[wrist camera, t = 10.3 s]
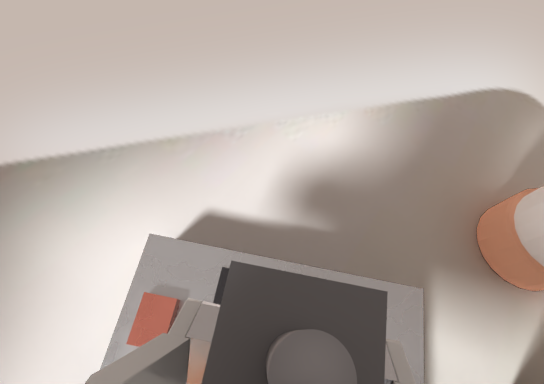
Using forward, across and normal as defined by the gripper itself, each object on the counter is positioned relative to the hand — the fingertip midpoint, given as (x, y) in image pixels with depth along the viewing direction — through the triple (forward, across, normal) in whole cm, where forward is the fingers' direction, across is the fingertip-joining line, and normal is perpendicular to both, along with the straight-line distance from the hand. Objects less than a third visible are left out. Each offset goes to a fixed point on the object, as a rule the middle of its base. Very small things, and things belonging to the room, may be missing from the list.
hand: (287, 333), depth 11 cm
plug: (+3, 0, +4) cm, 5 cm away
